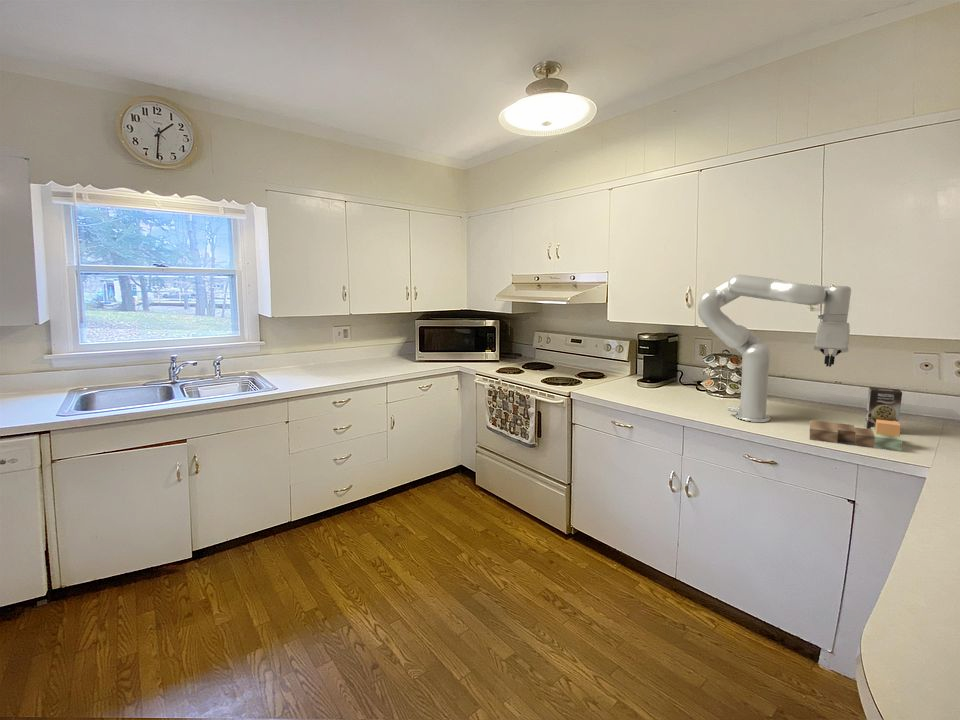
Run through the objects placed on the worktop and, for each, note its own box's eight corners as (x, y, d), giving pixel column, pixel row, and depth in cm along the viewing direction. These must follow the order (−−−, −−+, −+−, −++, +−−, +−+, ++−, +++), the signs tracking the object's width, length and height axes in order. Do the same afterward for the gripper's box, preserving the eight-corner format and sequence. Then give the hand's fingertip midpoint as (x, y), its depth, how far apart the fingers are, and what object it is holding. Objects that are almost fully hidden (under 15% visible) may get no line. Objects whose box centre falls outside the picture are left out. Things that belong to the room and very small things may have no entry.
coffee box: (866, 431, 177) (870, 389, 175) (864, 426, 182) (868, 386, 180) (898, 434, 172) (902, 392, 170) (894, 430, 177) (899, 388, 175)
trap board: (809, 439, 170) (810, 428, 169) (809, 430, 180) (810, 420, 180) (901, 451, 155) (902, 440, 155) (895, 440, 166) (896, 429, 165)
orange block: (876, 434, 162) (877, 422, 161) (875, 430, 166) (876, 419, 165) (899, 436, 158) (900, 425, 158) (897, 432, 162) (898, 421, 161)
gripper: (810, 318, 179) (804, 365, 182) (860, 320, 170) (853, 369, 173) (811, 317, 185) (806, 362, 188) (859, 319, 175) (853, 366, 179)
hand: (828, 366), depth 180 cm, fingers closed
